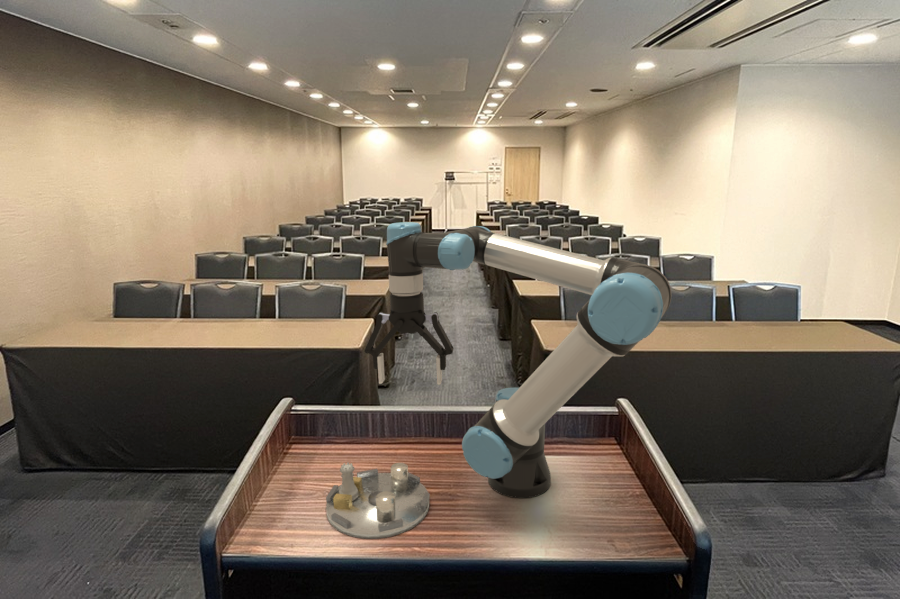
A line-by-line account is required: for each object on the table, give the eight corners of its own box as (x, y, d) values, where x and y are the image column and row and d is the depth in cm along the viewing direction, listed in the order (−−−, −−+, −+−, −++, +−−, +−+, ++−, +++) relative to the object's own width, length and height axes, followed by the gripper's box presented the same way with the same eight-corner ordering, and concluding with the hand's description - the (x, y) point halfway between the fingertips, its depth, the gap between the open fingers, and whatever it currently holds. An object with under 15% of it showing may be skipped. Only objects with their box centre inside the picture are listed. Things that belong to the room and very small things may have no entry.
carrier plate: (437, 482, 135) (437, 457, 133) (417, 543, 113) (416, 515, 111) (346, 474, 138) (345, 451, 137) (310, 533, 116) (307, 505, 115)
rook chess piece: (354, 503, 124) (352, 471, 122) (335, 501, 125) (333, 469, 123) (361, 492, 128) (360, 461, 126) (343, 490, 129) (341, 459, 127)
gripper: (463, 288, 126) (465, 377, 130) (356, 289, 129) (362, 375, 133) (460, 296, 118) (462, 389, 123) (347, 296, 122) (353, 387, 126)
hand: (410, 382), depth 128 cm, fingers open, 13 cm apart
